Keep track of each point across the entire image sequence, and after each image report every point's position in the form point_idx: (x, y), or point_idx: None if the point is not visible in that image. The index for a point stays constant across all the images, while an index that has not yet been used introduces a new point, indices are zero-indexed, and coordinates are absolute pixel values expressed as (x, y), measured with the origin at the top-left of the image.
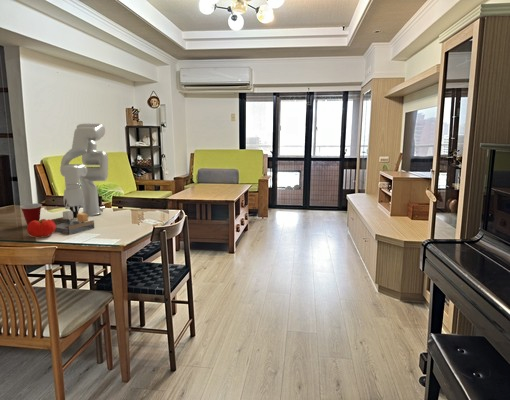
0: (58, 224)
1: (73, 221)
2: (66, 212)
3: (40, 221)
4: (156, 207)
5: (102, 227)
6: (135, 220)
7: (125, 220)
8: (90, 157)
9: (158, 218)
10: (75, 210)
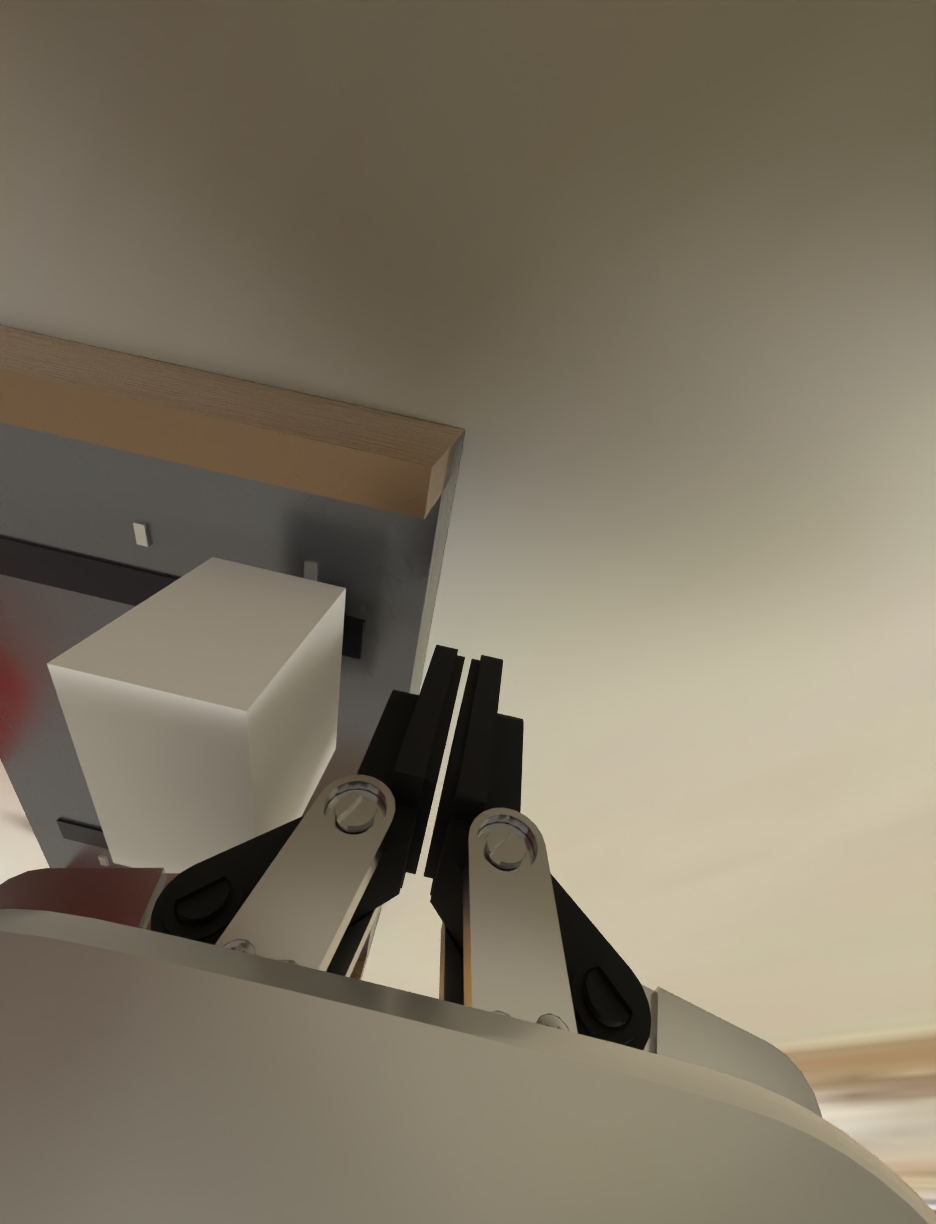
0: (71, 632)
1: (344, 713)
2: (103, 817)
3: None
4: None
5: (436, 949)
6: (797, 1066)
7: (798, 1013)
8: None
9: (893, 1155)
10: (437, 866)
